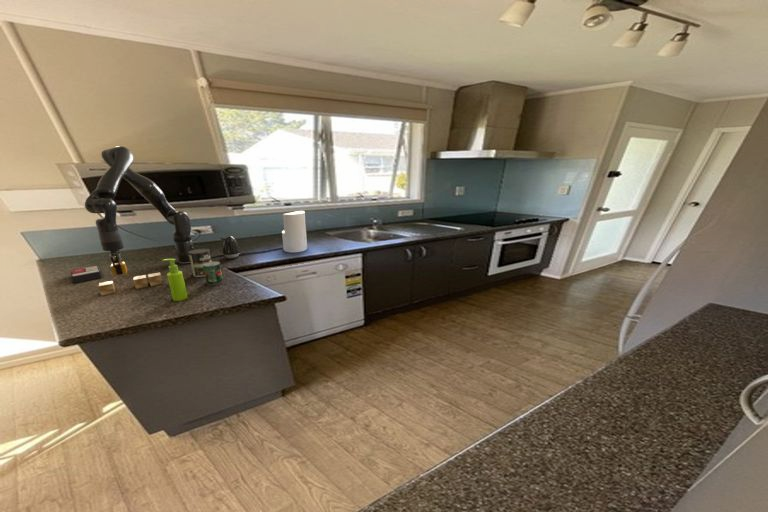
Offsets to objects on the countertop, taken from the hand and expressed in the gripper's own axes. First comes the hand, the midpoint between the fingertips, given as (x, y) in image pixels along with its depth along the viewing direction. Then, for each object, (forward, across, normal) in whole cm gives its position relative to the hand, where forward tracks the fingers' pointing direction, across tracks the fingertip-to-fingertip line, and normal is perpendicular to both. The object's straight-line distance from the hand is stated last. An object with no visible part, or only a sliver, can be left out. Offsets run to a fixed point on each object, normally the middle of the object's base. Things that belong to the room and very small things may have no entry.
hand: (120, 272), depth 143 cm
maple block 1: (+9, 0, +6) cm, 11 cm away
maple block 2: (+9, 0, -13) cm, 16 cm away
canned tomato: (+9, -17, -38) cm, 42 cm away
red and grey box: (+9, +33, +17) cm, 38 cm away
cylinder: (+9, +18, -97) cm, 99 cm away
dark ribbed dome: (+9, +23, -55) cm, 60 cm away
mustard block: (0, 0, 0) cm, 0 cm away
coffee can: (+9, +1, -35) cm, 36 cm away
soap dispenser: (+9, -28, -21) cm, 36 cm away
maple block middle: (+9, 0, -7) cm, 11 cm away
